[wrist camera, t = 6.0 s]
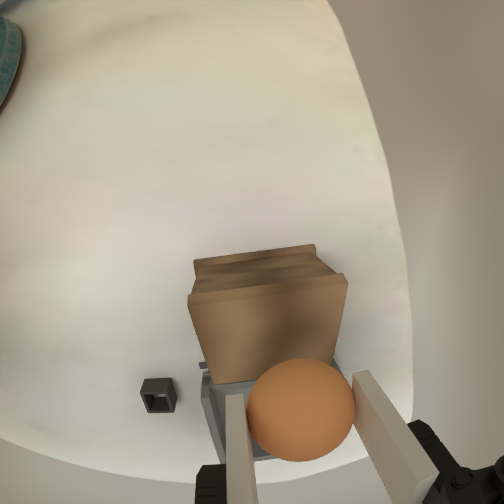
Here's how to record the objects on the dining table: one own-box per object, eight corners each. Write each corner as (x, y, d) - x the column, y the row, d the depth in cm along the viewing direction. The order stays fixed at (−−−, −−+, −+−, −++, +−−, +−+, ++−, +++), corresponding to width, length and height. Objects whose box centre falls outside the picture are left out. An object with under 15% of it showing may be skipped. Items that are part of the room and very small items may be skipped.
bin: (220, 438, 33) (220, 464, 28) (203, 372, 30) (200, 398, 26) (328, 421, 33) (338, 445, 29) (329, 353, 31) (343, 375, 27)
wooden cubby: (211, 354, 30) (207, 420, 20) (194, 259, 28) (177, 298, 18) (318, 338, 30) (351, 396, 21) (312, 244, 28) (355, 273, 19)
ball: (249, 420, 15) (256, 488, 10) (237, 347, 14) (240, 415, 9) (335, 405, 16) (364, 466, 11) (337, 331, 15) (377, 388, 10)
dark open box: (152, 399, 31) (147, 413, 28) (144, 379, 30) (139, 392, 28) (176, 398, 31) (174, 412, 28) (170, 377, 30) (167, 391, 28)
